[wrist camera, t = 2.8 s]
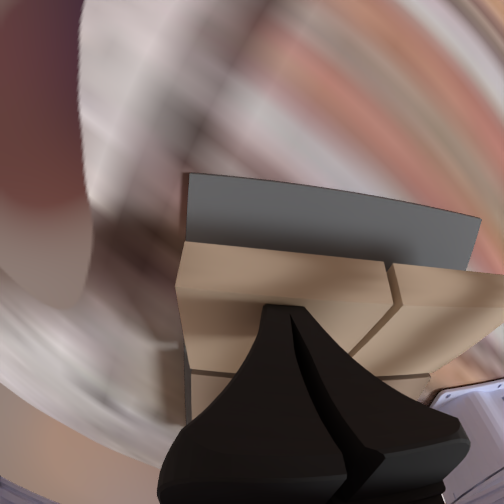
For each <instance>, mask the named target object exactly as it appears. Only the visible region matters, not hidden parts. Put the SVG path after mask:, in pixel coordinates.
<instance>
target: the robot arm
mask: <svg viewBox="0 0 504 504" xmlns="http://www.w3.org/2000/svg"><path fill="white" fill-rule="evenodd" d="M441 494H443V496H444V499H445V502H446V504H504V379H501V380H496V381H491V382H487V383H482V384H476V385H471V386H465V387H459V388H453V389H447V390H442V391H441V392H439V393H438V395H437V396H436V398H435V399H434V401H433V402H432V404H431V405H430V407H428V406H426V405H424V404H422V403H420V402H418V401H416V400H414V399H412V398H410V397H408V396H406V395H404V394H402V393H401V392H399V391H397V390H396V389H394V388H392V387H391V386H389V385H388V384H386V383H385V382H383V381H381V380H380V379H379V378H377V377H376V376H374V375H373V374H372V373H370V372H369V371H368V370H367V369H365V368H364V367H363V366H361V365H360V364H359V363H358V362H357V361H355V360H354V359H353V358H352V357H351V356H350V355H349V354H348V353H347V352H346V351H345V350H344V349H342V348H341V347H340V346H339V345H338V344H337V343H336V342H335V341H334V340H333V338H332V337H331V336H330V335H329V334H328V333H327V332H326V331H325V330H324V329H323V328H322V326H321V325H320V324H319V323H318V322H317V321H316V320H315V318H314V317H313V316H312V315H311V314H310V313H309V311H308V310H307V309H306V308H305V307H303V306H288V305H275V304H266V305H264V306H263V308H262V312H261V319H260V325H259V331H258V334H257V336H256V339H255V341H254V343H253V345H252V347H251V349H250V351H249V353H248V355H247V357H246V358H245V360H244V362H243V363H242V365H241V366H240V368H239V370H238V371H237V373H236V374H235V375H234V377H233V378H232V379H231V381H230V382H229V383H228V385H227V386H226V387H225V388H224V390H223V391H222V392H221V393H220V394H219V395H218V396H217V397H216V398H215V399H214V400H213V402H212V403H211V404H210V405H209V406H208V407H207V408H206V409H205V410H204V411H203V412H202V413H200V414H199V415H198V416H197V417H196V418H195V419H193V420H192V421H191V422H190V423H189V424H187V425H186V426H185V427H184V428H183V429H181V431H180V432H179V434H178V436H177V437H176V439H175V441H174V442H173V444H172V446H171V448H170V450H169V451H168V453H167V455H166V458H165V460H164V462H163V465H162V468H161V471H160V475H159V480H158V487H157V497H158V499H159V502H160V504H444V501H443V498H442V495H441ZM0 504H59V503H57V502H55V501H52V500H49V499H47V498H45V497H43V496H40V495H38V494H36V493H33V492H31V491H29V490H27V489H25V488H23V487H20V486H18V485H16V484H14V483H12V482H10V481H8V480H6V479H5V478H3V477H1V476H0Z"/></svg>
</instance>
